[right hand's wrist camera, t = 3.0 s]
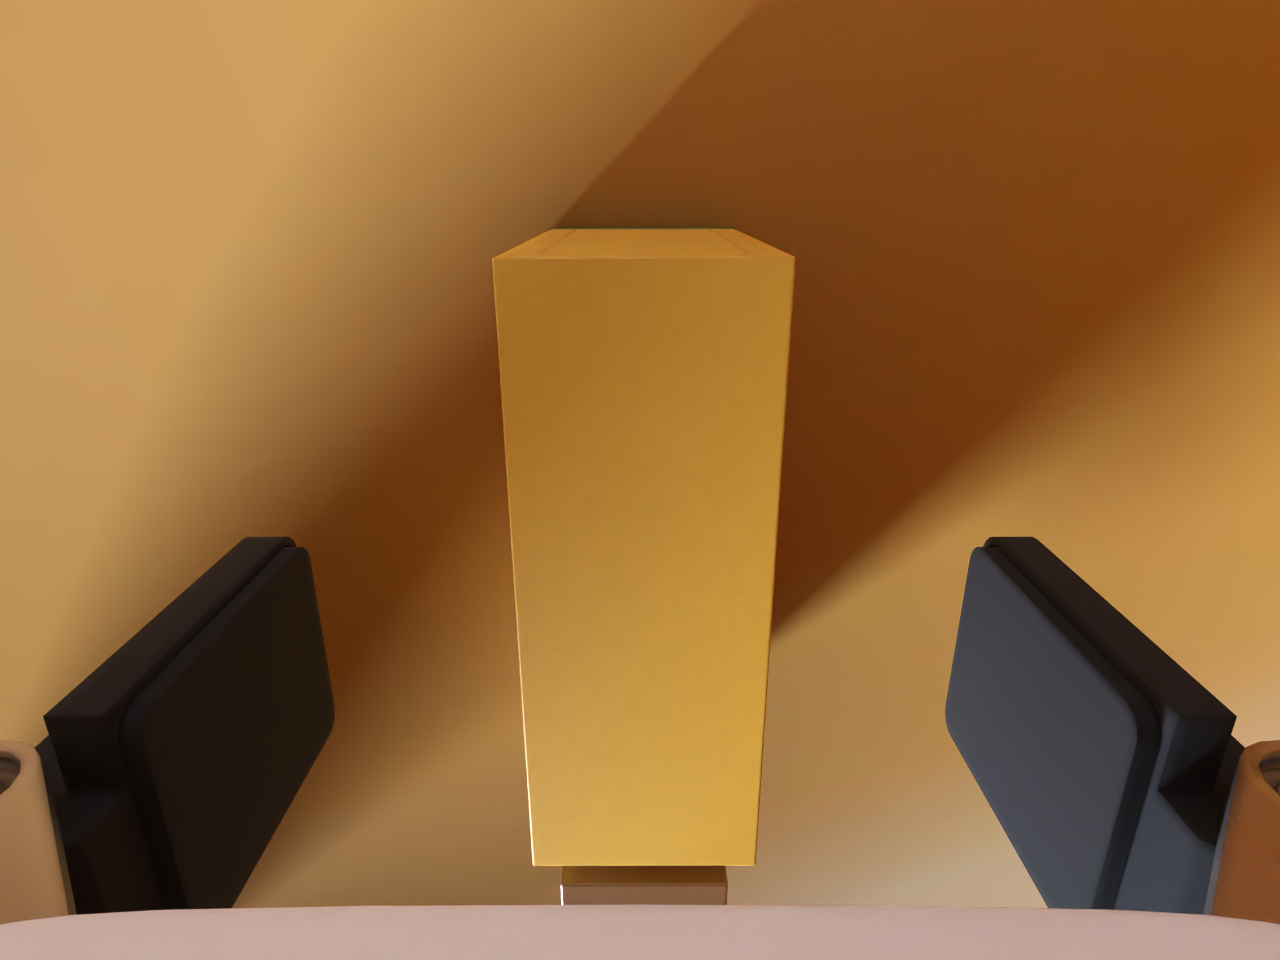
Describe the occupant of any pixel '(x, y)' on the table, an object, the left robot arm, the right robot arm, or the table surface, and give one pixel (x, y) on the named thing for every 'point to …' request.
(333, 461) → the table surface
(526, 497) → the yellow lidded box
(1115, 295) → the table surface
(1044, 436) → the table surface
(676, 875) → the drawer
